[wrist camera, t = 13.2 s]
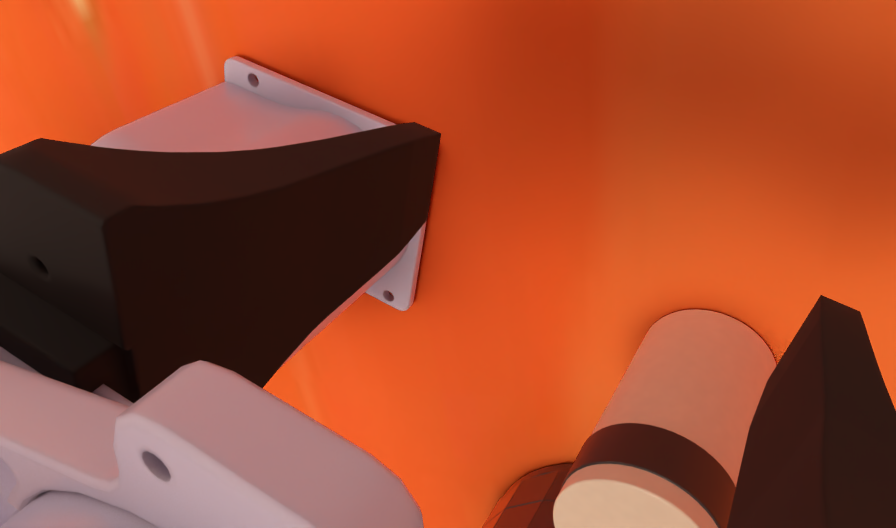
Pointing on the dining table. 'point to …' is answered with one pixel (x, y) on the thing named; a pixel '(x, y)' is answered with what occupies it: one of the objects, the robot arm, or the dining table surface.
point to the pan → (530, 500)
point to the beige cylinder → (671, 429)
